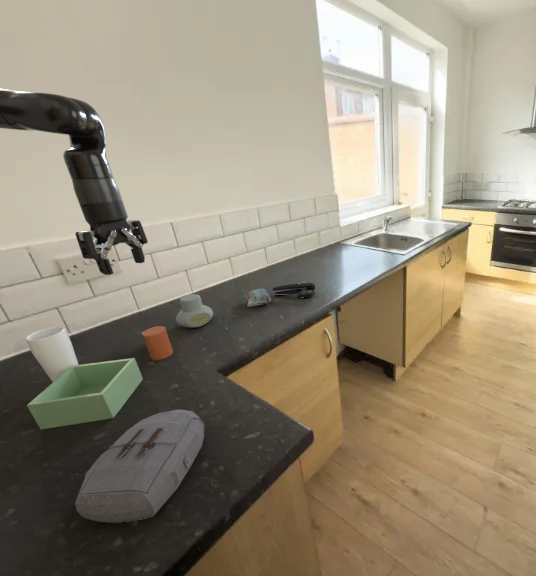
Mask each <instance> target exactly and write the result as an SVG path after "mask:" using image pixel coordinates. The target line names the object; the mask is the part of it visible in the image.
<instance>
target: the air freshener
mask: <svg viewBox="0 0 536 576" xmlns="http://www.w3.org/2000/svg"><path fill="white" fill-rule="evenodd" d="M179 302H180V306H181V310H180V311H178V313H177V315H176V317H175V320H176V323H177V324H178V325H179V326H181V327H183V328H188V329H193V328H194V329H195V328H200V327H201V328H202V327H203V326H204V325H206V324H207V323H209V322H210V321H211V319H212V318H213V316H214V311H213V309H212V308H211V307H210V306H208V305H205V304H203V301H202V298H201V295H199V294H197V293H191V294H186V295H184V296H182V297H181V298H179Z"/></svg>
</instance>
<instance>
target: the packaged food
mask: <svg viewBox="0 0 536 576" xmlns="http://www.w3.org/2000/svg"><path fill="white" fill-rule="evenodd" d="M243 298H245V300H247V305H246V306H247V307H253V308H254V307H258V306H264V304H265V305H269V304H270V303H271V302H272V299H271V297H270V294H269V293H268V292H267V289H266V288H256V289H253V290H250V291H248V292H246V293H245V294H243Z"/></svg>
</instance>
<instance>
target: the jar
mask: <svg viewBox="0 0 536 576" xmlns="http://www.w3.org/2000/svg"><path fill="white" fill-rule="evenodd" d="M141 334H142V338H143V341H144V343H145V346H146V349H147V352H148V355H149V357H150V359H151V360H152V361H162V360H164V359H167V358H169V357H170V356H172V355H173V353H174V349H173V347H172V343H171V341H170V340H171V339H170V338H169V337H170V336H169V334H168V331H167V329H166V326H163V325H158V326H157V325H156V326H153V327H149V328H147V329H145V330H144V331H143V332H142V333H141Z"/></svg>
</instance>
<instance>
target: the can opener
mask: <svg viewBox="0 0 536 576" xmlns="http://www.w3.org/2000/svg"><path fill="white" fill-rule="evenodd" d="M315 290H316V285H315V283H313V282H309V281H306V282H299V281H298V282H297V283H288V284H282V285H281V284H280V285H277V286H274V287H272V291H274V293H275V294H289V295H294V294H295V295H296V294H297V298H299V297H310V298H313V297H314V295H315V294H316V292H315Z"/></svg>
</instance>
